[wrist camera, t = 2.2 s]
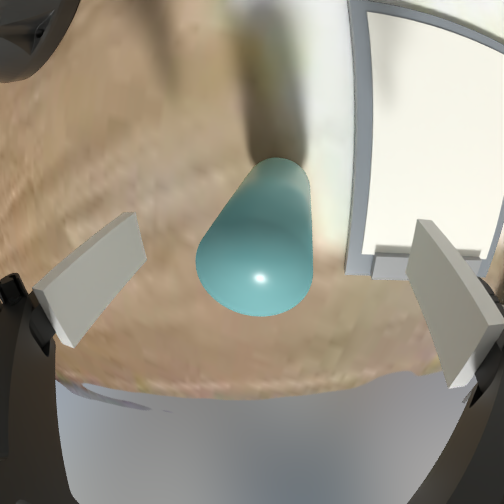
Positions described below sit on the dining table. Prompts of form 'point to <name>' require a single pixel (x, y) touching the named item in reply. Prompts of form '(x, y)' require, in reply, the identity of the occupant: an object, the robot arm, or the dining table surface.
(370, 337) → the dining table surface
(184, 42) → the dining table surface
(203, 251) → the teal cylinder
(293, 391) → the dining table surface
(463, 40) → the clipboard
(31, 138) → the dining table surface
